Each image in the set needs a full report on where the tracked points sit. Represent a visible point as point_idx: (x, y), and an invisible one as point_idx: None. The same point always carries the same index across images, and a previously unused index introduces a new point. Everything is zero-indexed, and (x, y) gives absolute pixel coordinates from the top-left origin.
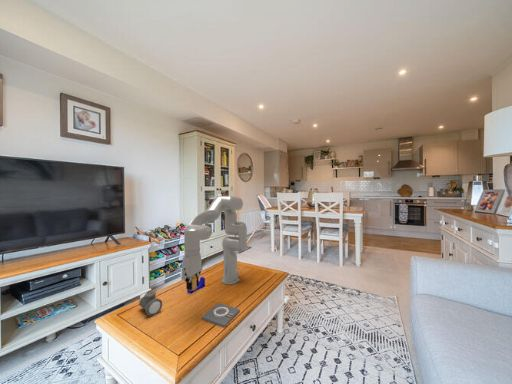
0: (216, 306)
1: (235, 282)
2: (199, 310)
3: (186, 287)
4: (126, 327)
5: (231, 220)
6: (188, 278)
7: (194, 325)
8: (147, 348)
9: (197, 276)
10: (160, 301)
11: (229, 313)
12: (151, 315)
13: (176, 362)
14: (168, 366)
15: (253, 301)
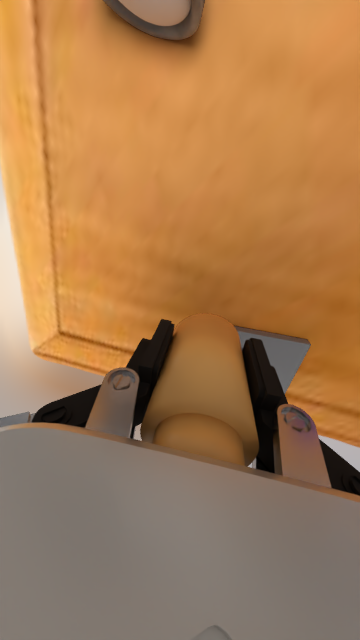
0: (280, 347)
1: None
2: (254, 282)
3: (159, 323)
4: None
5: None
6: (152, 405)
7: (163, 312)
8: (18, 230)
9: (253, 466)
10: None
11: None
12: (128, 21)
13: (44, 338)
14: (28, 329)
15: (339, 435)
